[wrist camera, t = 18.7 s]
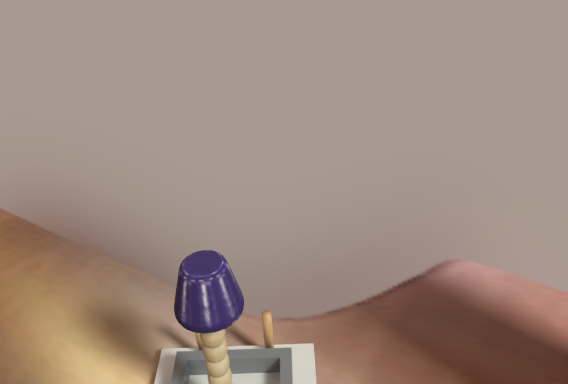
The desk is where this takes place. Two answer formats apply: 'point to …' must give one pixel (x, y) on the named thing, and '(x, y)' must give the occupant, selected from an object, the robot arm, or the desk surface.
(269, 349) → the peg board frame
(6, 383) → the desk surface
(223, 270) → the toy lamp
